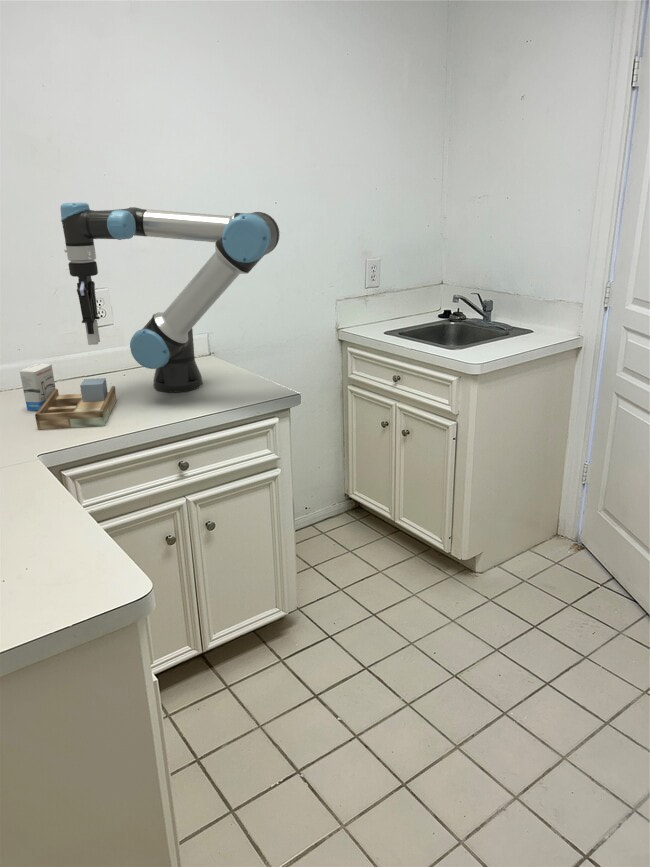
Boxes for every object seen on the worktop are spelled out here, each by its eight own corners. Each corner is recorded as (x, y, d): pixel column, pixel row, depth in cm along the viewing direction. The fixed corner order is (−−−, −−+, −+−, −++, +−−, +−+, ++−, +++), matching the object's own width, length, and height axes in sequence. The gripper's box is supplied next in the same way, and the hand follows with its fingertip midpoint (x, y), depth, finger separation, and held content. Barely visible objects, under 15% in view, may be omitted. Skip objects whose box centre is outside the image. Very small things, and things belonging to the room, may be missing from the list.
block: (107, 394, 189) (105, 378, 187) (104, 400, 183) (102, 384, 182) (86, 395, 188) (84, 379, 186) (82, 402, 183) (80, 385, 181)
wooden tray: (116, 399, 192) (114, 386, 190) (104, 425, 172) (102, 410, 170) (57, 402, 190) (54, 389, 188) (37, 429, 169) (34, 414, 168)
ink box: (41, 411, 183) (34, 371, 178) (26, 410, 184) (18, 370, 179) (59, 401, 190) (52, 363, 186) (44, 400, 191) (37, 362, 187)
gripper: (74, 258, 186) (85, 337, 195) (62, 264, 173) (75, 350, 181) (100, 257, 188) (111, 336, 196) (91, 264, 174) (103, 349, 182)
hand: (94, 343), depth 189 cm, fingers open, 2 cm apart
